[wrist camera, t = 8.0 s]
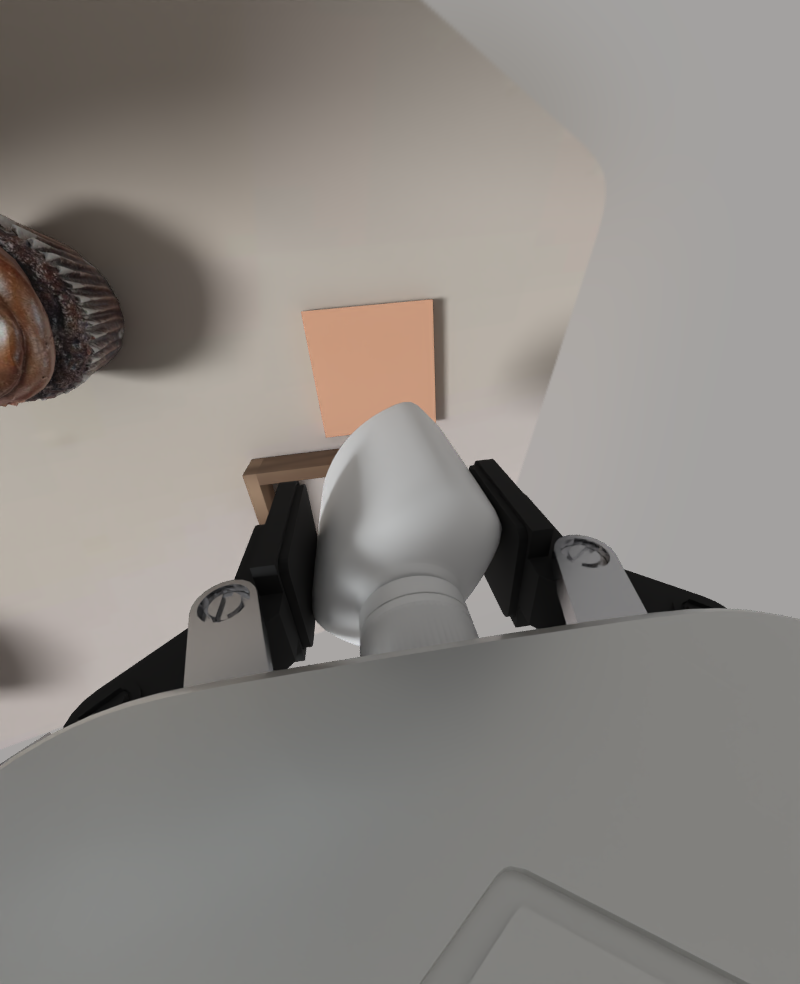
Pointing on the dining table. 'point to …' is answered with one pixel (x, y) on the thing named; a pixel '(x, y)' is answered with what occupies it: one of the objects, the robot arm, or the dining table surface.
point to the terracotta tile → (371, 360)
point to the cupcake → (51, 317)
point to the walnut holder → (282, 475)
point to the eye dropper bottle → (400, 537)
